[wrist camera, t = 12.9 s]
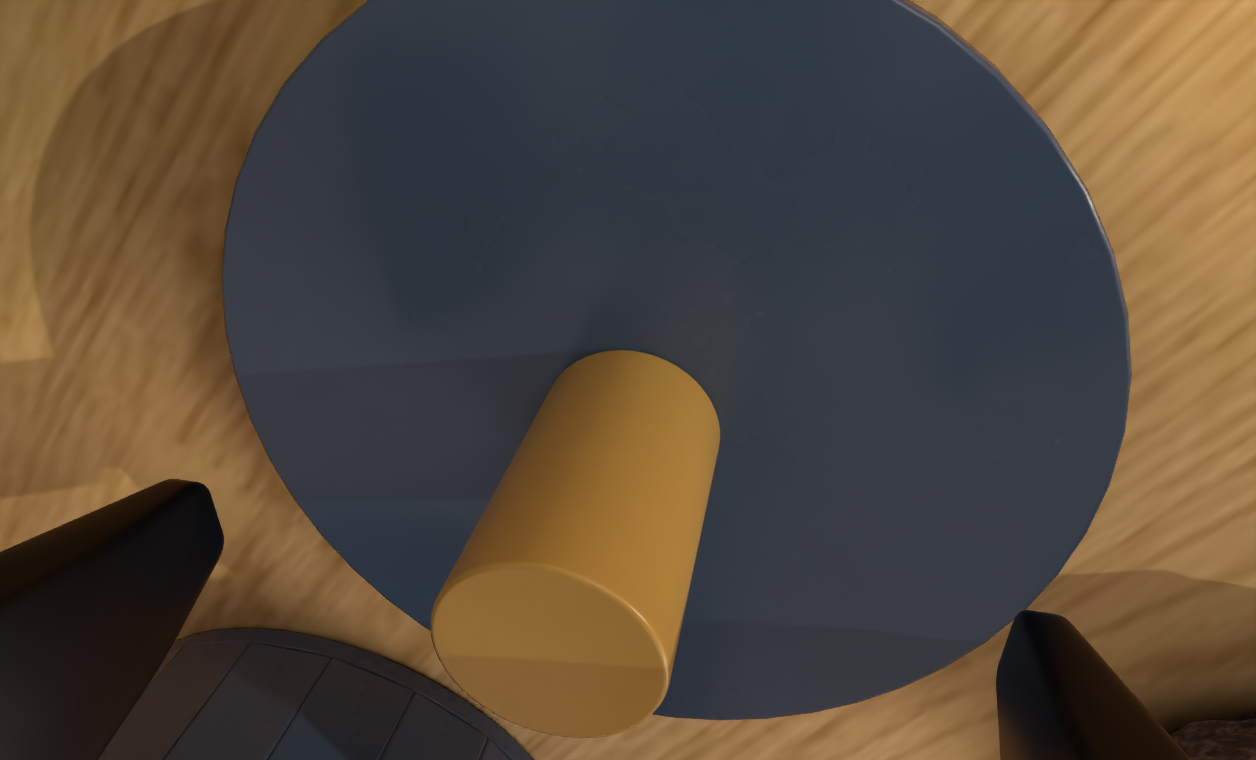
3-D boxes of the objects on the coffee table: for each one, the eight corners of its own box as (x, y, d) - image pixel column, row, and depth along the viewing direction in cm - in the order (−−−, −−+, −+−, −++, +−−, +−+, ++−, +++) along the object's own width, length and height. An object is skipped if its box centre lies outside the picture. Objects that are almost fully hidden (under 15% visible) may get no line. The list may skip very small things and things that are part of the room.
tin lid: (987, 723, 15) (1045, 1082, 10) (340, 609, 17) (167, 867, 12) (1271, -74, 8) (1725, 8, 4) (168, -95, 10) (-301, -57, 6)
